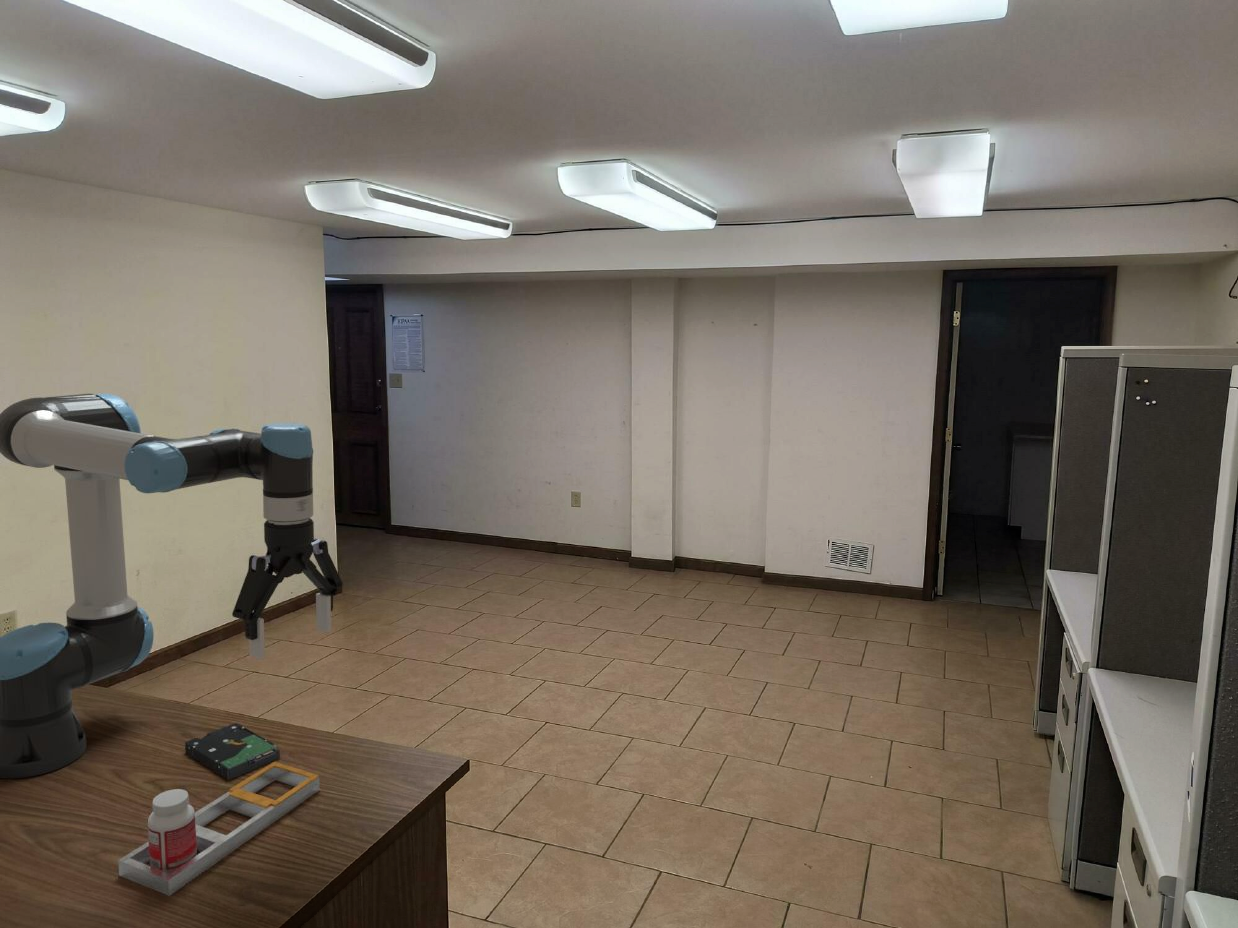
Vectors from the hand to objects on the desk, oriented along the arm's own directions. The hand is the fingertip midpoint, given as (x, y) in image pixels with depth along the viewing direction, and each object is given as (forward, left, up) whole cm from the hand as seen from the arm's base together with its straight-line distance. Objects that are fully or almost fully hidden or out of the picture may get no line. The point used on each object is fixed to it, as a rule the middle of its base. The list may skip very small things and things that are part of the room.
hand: (291, 643), depth 140 cm
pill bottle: (-2, -23, -27) cm, 36 cm away
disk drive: (-19, +4, -28) cm, 34 cm away
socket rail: (-2, -13, -27) cm, 30 cm away
